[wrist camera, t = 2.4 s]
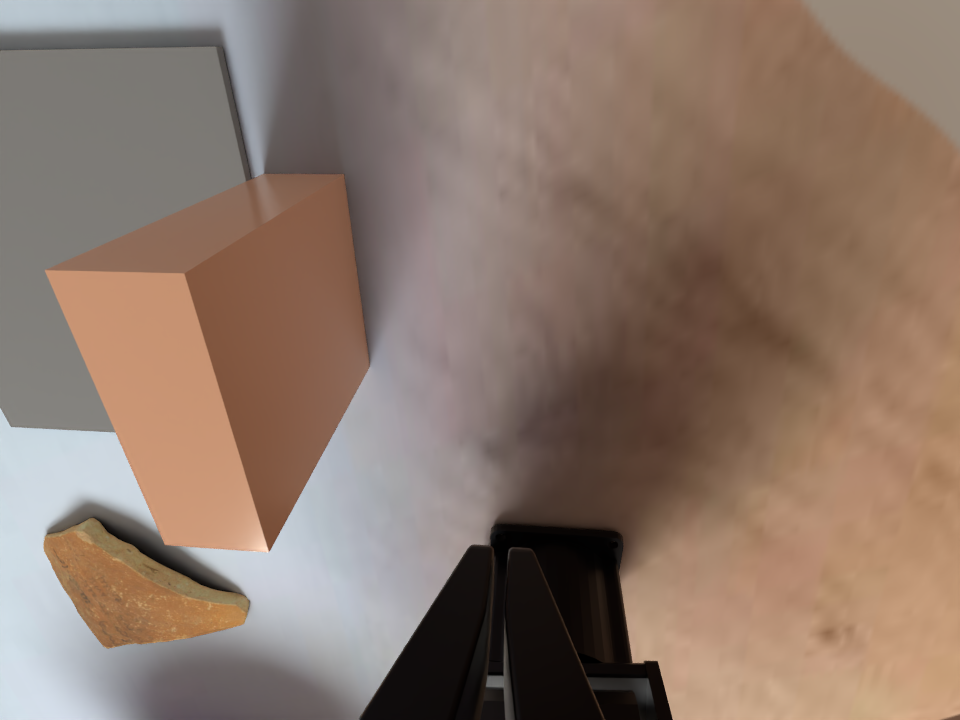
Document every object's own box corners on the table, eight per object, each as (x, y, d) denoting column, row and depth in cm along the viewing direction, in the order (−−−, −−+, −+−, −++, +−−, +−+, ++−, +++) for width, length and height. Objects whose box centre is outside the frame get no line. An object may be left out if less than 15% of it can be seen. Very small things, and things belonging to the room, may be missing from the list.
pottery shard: (264, 604, 33) (245, 642, 31) (162, 638, 36) (138, 676, 34) (138, 488, 29) (106, 523, 27) (34, 537, 32) (-3, 573, 30)
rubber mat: (222, 46, 18) (215, 46, 17) (307, 436, 25) (304, 441, 25) (-183, 53, 19) (-197, 53, 19) (17, 421, 27) (11, 426, 26)
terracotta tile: (344, 174, 19) (184, 273, 11) (369, 366, 23) (268, 552, 15) (263, 173, 20) (44, 270, 11) (303, 363, 23) (165, 545, 15)
